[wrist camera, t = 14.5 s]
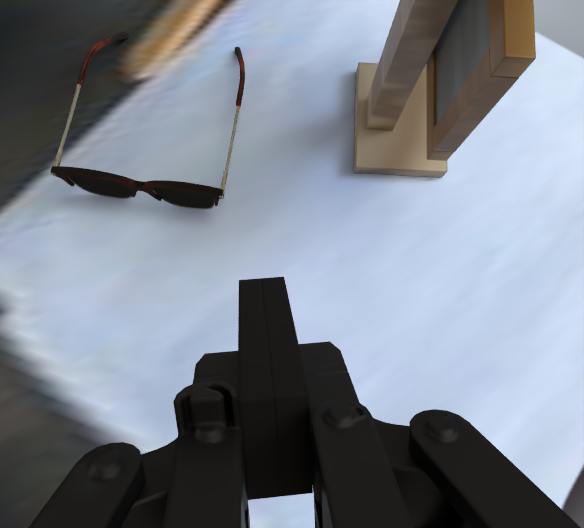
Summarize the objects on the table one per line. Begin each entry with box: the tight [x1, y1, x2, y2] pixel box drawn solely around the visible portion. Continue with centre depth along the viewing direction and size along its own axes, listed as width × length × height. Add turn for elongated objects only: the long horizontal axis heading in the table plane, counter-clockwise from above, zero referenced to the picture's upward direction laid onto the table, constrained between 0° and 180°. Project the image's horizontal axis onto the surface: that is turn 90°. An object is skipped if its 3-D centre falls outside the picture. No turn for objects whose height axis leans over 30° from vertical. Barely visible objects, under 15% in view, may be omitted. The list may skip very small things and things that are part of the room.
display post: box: [354, 0, 458, 177], centre depth 32 cm, size 8×10×27 cm
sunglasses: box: [51, 32, 245, 209], centre depth 43 cm, size 14×16×5 cm
